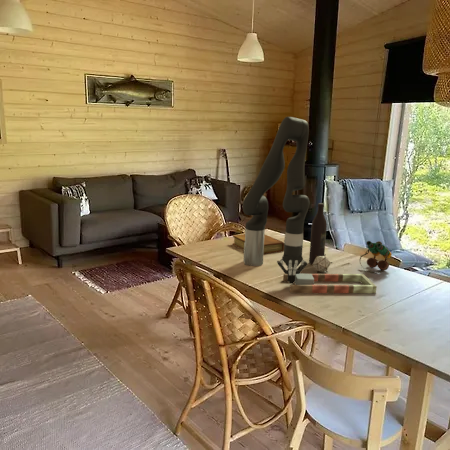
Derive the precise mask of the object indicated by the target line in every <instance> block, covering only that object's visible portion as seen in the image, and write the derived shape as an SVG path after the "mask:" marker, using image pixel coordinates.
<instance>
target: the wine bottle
mask: <svg viewBox="0 0 450 450" xmlns="http://www.w3.org/2000/svg"><path fill="white" fill-rule="evenodd" d="M324 208H325V204H324V203H323V202H318V204H317V212H316V214H315V215H314V217H313V220H312V223H311V229H310V232H311V233H310V243H309V244H310V245H309V258H308V263H309V264H310V265H311V264H313V262H314V260H315V258H316V255H317V256H324V255H325V254H326V253H325V251H326V250H325V249H326V238H327V225H328V224H327V219H326V217H325V214H324Z"/></svg>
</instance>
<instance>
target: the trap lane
mask: <svg viewBox="0 0 450 450" xmlns="http://www.w3.org/2000/svg"><path fill="white" fill-rule="evenodd" d="M311 274H312V276H313V278H314V282H327V283H328V282H335V283H338V282H340V283H341V282H342V283H343V282H344V283H345V282H346V283H347V282H349V283H350V282H352V283H353V282H354V283H355V282H356V283H359V282H360V283H361V284H314V285H295V284H289V293H290V294H376V293H377V287H378V286H377V285H376V284H375V283H374V282H373V281H372V280H370V279H369V278H368V277H367V276H366V275H365V274H364V273H311ZM282 277H283V278H282V280H283V282H288V280H287V277H288V274H285V273H283V275H282Z"/></svg>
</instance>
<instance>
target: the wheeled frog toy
mask: <svg viewBox="0 0 450 450" xmlns="http://www.w3.org/2000/svg"><path fill="white" fill-rule="evenodd" d="M366 247H367V250H366V251H365V253H364V254H362V255H360V257H359V264H360V266H361V267H363V266H362V262H361V261H362V260H361V259H362V257H364V256H367V255H368V254H369V252H370V253H371V254H372V255H373V257H368V259H366V265H367V266H368V267H370V268H371V269H373V268H378V269H379V270H380V271H370V270H367V269H366V268H364V271H367V272H369V273H373V274H379V273H383V272H384V271H387V270H388V269H389V267H390V262H389V259H390V258H392V255H393V254H392V252H391V251H390V250H389V249H388V247H386V246H385V245H384V244H383V243H382V242H381V241H380V240H379V241H376V242H372V240H367V241H366ZM379 255H381V256H382V257H383V258H384V260H383V259H381V260H379V261H378V260H377V259H376V257H378V256H379Z"/></svg>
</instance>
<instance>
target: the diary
mask: <svg viewBox="0 0 450 450" xmlns="http://www.w3.org/2000/svg"><path fill="white" fill-rule="evenodd" d="M232 238H234V241H233V243H232V245H233V246H236V247H238V249H242V250H243V251H244V243H245V233H241V234H232ZM281 251H282V252H284V241H281V240H279V239H277V238H274V237H272V236H269V235H267V234H264V254H263V255H266V254H272V253H280V252H281ZM282 252H281V253H282Z"/></svg>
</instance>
